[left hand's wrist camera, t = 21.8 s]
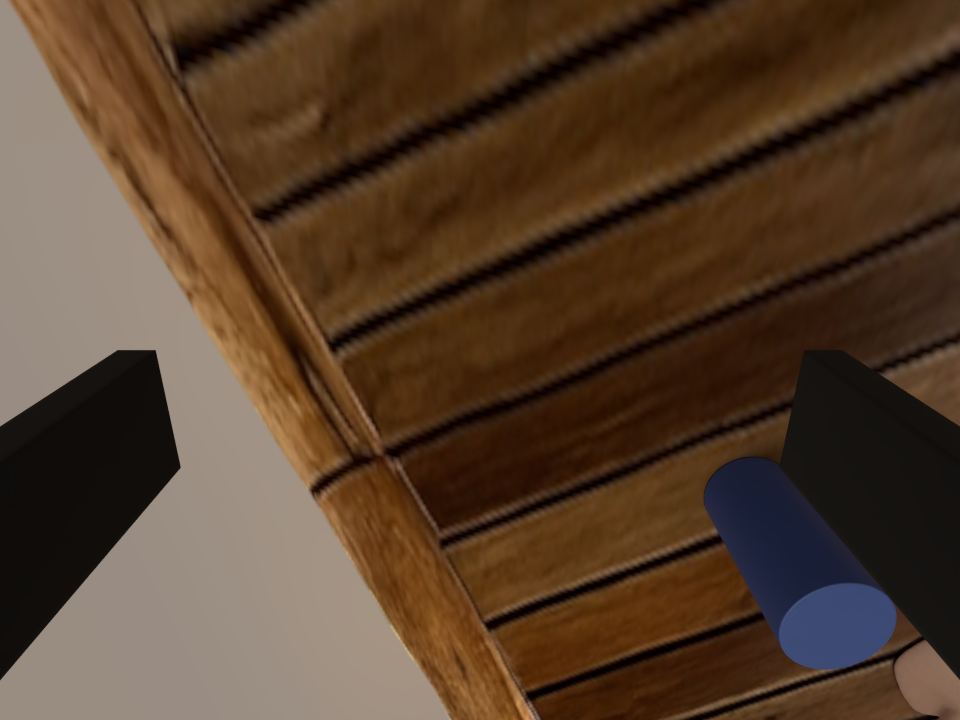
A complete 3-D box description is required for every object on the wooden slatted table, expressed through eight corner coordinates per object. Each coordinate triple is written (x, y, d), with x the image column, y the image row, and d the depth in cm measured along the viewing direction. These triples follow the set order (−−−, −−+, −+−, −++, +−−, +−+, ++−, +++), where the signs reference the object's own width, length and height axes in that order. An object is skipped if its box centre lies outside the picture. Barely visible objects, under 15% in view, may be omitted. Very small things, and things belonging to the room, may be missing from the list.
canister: (796, 455, 41) (909, 582, 30) (782, 527, 44) (883, 669, 33) (708, 457, 41) (788, 584, 30) (699, 528, 44) (771, 671, 33)
